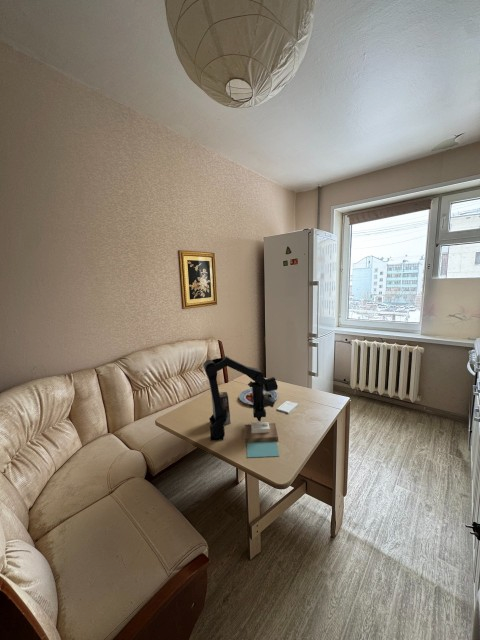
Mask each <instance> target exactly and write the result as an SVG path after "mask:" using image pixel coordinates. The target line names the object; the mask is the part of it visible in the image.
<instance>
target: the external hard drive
mask: <svg viewBox="0 0 480 640" xmlns="http://www.w3.org/2000/svg"><path fill="white" fill-rule="evenodd" d="M298 406H299V403H297V402H293V401H289V400H286V401H284V403H282V404H281V405H280V406H278V407H277V408H276V409H275V410H276V411H277V412H281V413H284V414H288V415H289V414H291V412H293V410H295V409H296V408H297V407H298Z"/></svg>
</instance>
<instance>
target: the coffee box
mask: <svg viewBox="0 0 480 640" xmlns="http://www.w3.org/2000/svg"><path fill="white" fill-rule="evenodd" d="M219 395H220V400H221V405H223V404H224V406H225V408H226V414H227V416H228V417H227V420H226V422H225V423H224V425H227V424H231V423H232V422H231V414H230V413H231V412H230V403H229V394H228V392H227V391H222V392H219ZM211 405H212V406H213V400H212V399H211Z"/></svg>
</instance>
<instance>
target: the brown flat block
mask: <svg viewBox="0 0 480 640" xmlns="http://www.w3.org/2000/svg"><path fill="white" fill-rule="evenodd" d="M276 425H277V424H276V423H275V422H271V423H270V422H269V427H270V432H268V433H252V429H251V423H250V424H244V444H247V443H254V442H274V441H276V442H279V436H278V432H277V426H276Z"/></svg>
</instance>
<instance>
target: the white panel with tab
mask: <svg viewBox="0 0 480 640" xmlns="http://www.w3.org/2000/svg"><path fill="white" fill-rule="evenodd" d="M269 423H270V422H269V421H264V422H263V421H262V422H261V421H258V422H251V423H250V424H251V429H252V433H268V432H270V427H269Z"/></svg>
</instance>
